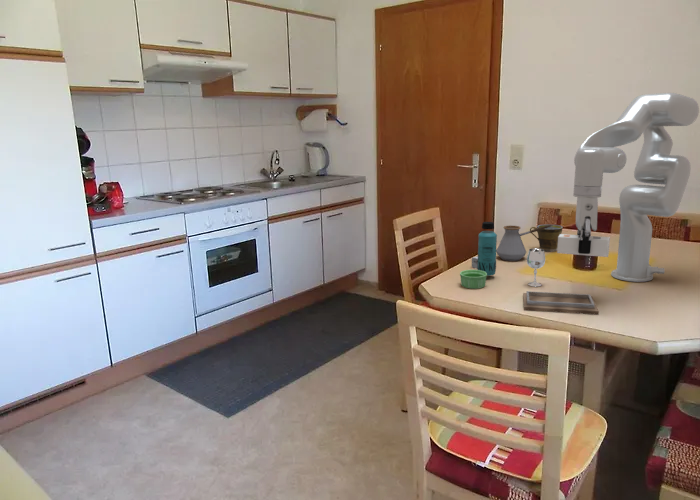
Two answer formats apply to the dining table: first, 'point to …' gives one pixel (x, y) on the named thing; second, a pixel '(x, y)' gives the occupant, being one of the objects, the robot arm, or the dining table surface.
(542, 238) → the ceramic cup
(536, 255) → the wineglass
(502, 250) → the coffee pot
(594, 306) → the board
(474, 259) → the usb wall charger
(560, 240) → the power strip
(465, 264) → the dining table surface
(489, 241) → the beverage bottle
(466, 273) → the ramekin
